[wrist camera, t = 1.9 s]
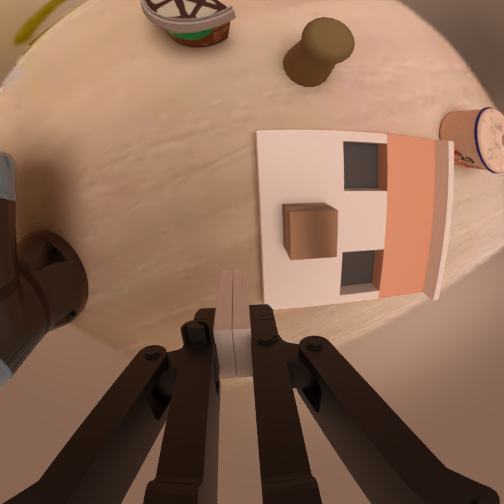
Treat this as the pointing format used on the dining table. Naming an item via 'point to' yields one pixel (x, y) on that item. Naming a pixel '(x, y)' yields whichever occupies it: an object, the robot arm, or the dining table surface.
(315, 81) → the cork
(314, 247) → the walnut block
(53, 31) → the dining table surface
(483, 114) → the teacup with lid
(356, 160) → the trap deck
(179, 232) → the dining table surface
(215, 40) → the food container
